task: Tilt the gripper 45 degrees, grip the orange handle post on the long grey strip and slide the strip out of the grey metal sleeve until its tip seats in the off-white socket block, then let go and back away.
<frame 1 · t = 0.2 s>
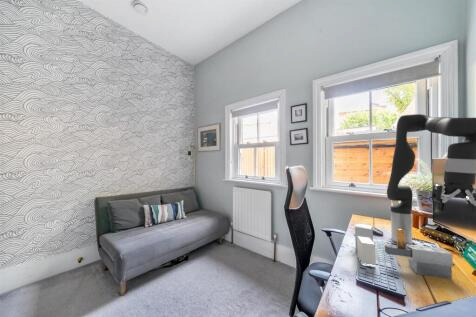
hand: (455, 213, 69), 28 cm above the table, tool pointing down, fingers open, 8 cm apart
grey sleeve: (427, 272, 77), on the table
socket block: (366, 262, 85), on the table
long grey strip: (413, 243, 79), point 11 cm above the table, slide at 0.0 cm
supplement box: (364, 249, 98), on the table
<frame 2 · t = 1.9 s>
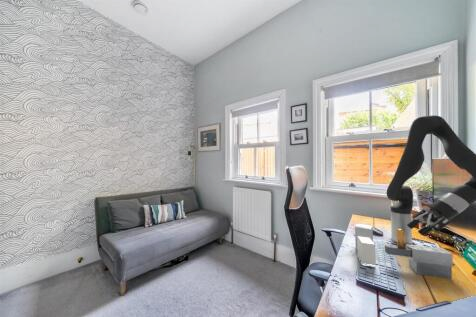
hand: (414, 230, 79), 17 cm above the table, tool tilted 45°, fingers open, 8 cm apart
nothing on the table moved.
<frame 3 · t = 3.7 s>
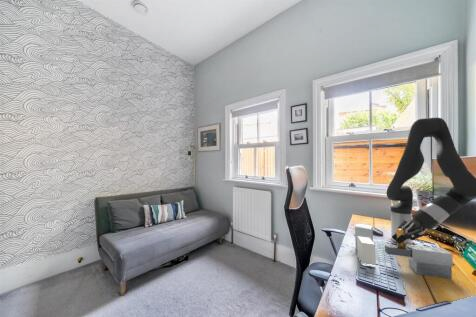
hand: (395, 240, 81), 12 cm above the table, tool tilted 45°, fingers closed on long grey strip, 3 cm apart
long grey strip: (413, 243, 79), point 11 cm above the table, slide at 0.0 cm, touching gripper
everything else where it was.
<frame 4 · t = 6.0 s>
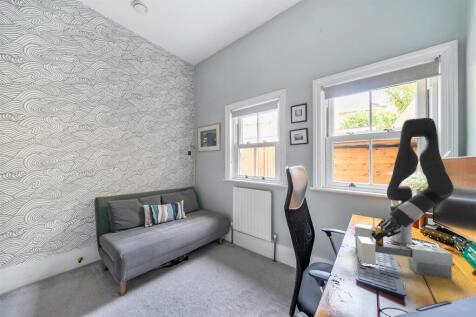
hand: (374, 237, 84), 12 cm above the table, tool tilted 45°, fingers closed on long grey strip, 3 cm apart
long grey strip: (391, 240, 82), point 11 cm above the table, slide at 8.0 cm, touching gripper
everything else where it was.
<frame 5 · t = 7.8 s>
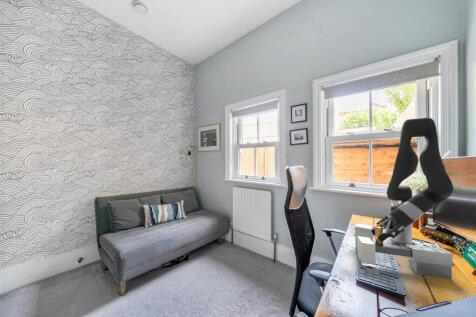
hand: (375, 236, 84), 13 cm above the table, tool tilted 45°, fingers open, 8 cm apart
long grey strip: (391, 240, 82), point 11 cm above the table, slide at 8.1 cm
everything else where it was.
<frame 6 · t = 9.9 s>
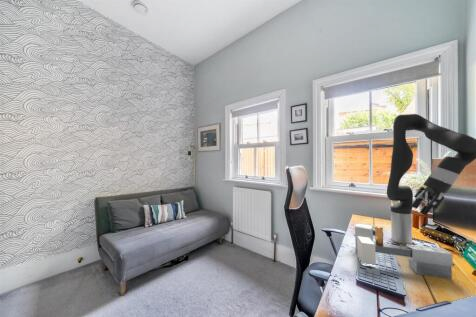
hand: (418, 210, 83), 25 cm above the table, tool tilted 25°, fingers open, 8 cm apart
nothing on the table moved.
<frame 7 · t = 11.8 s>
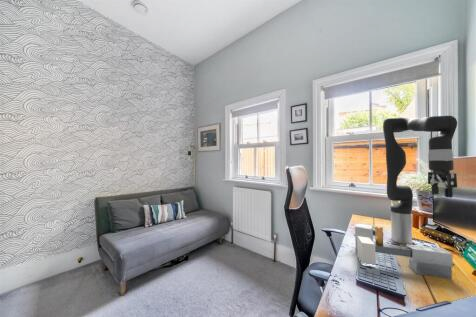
hand: (441, 195, 81), 32 cm above the table, tool pointing down, fingers open, 8 cm apart
nothing on the table moved.
at the end: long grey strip slide at 8.1 cm; the gripper is holding nothing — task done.
